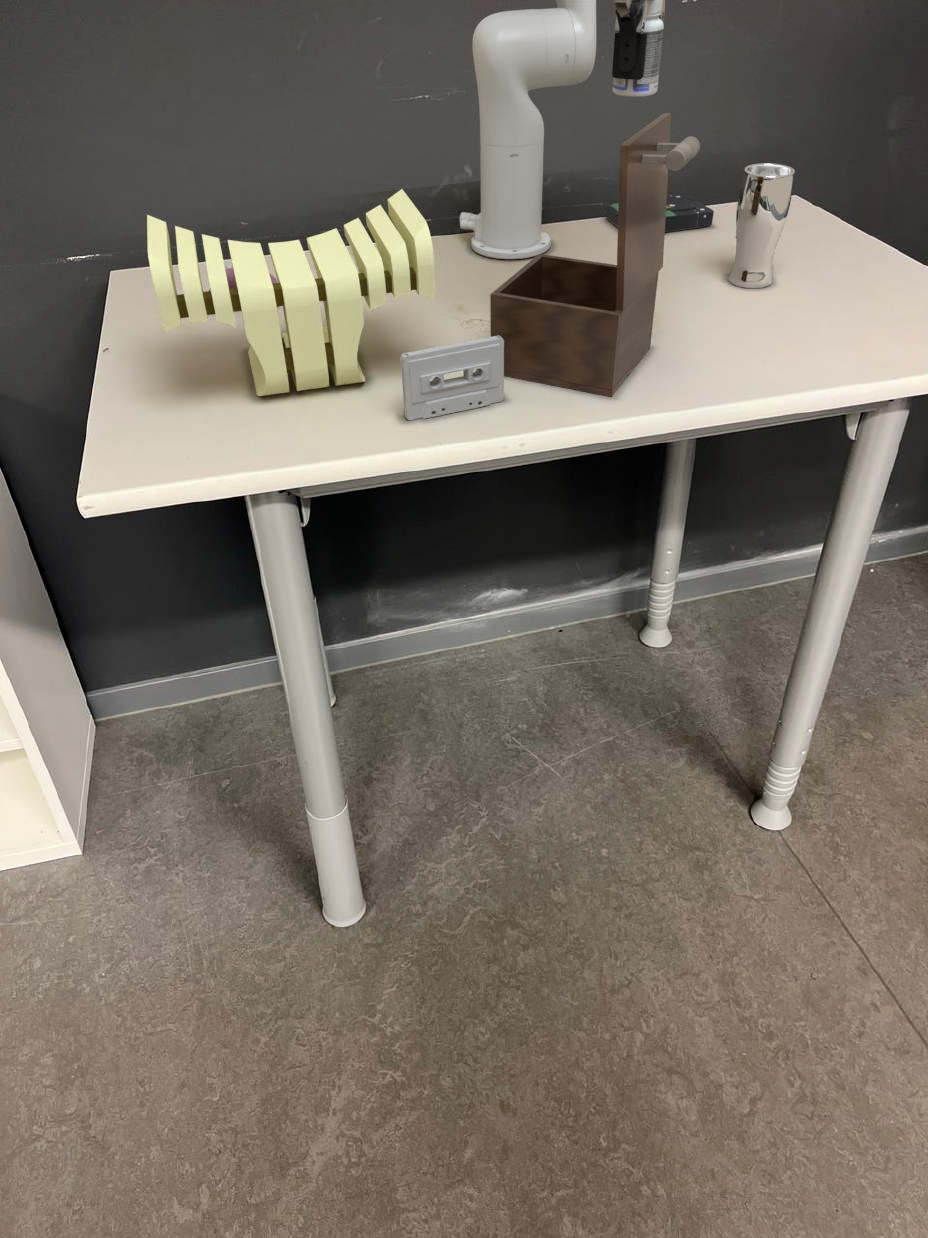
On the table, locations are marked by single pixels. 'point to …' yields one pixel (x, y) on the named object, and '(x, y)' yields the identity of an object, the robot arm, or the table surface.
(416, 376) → the cassette
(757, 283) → the beer glass
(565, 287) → the chest
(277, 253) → the slatted curved stool
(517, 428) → the table surface
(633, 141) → the lid
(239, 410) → the table surface
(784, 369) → the table surface
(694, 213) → the disk drive
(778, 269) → the table surface
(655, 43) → the pill bottle
